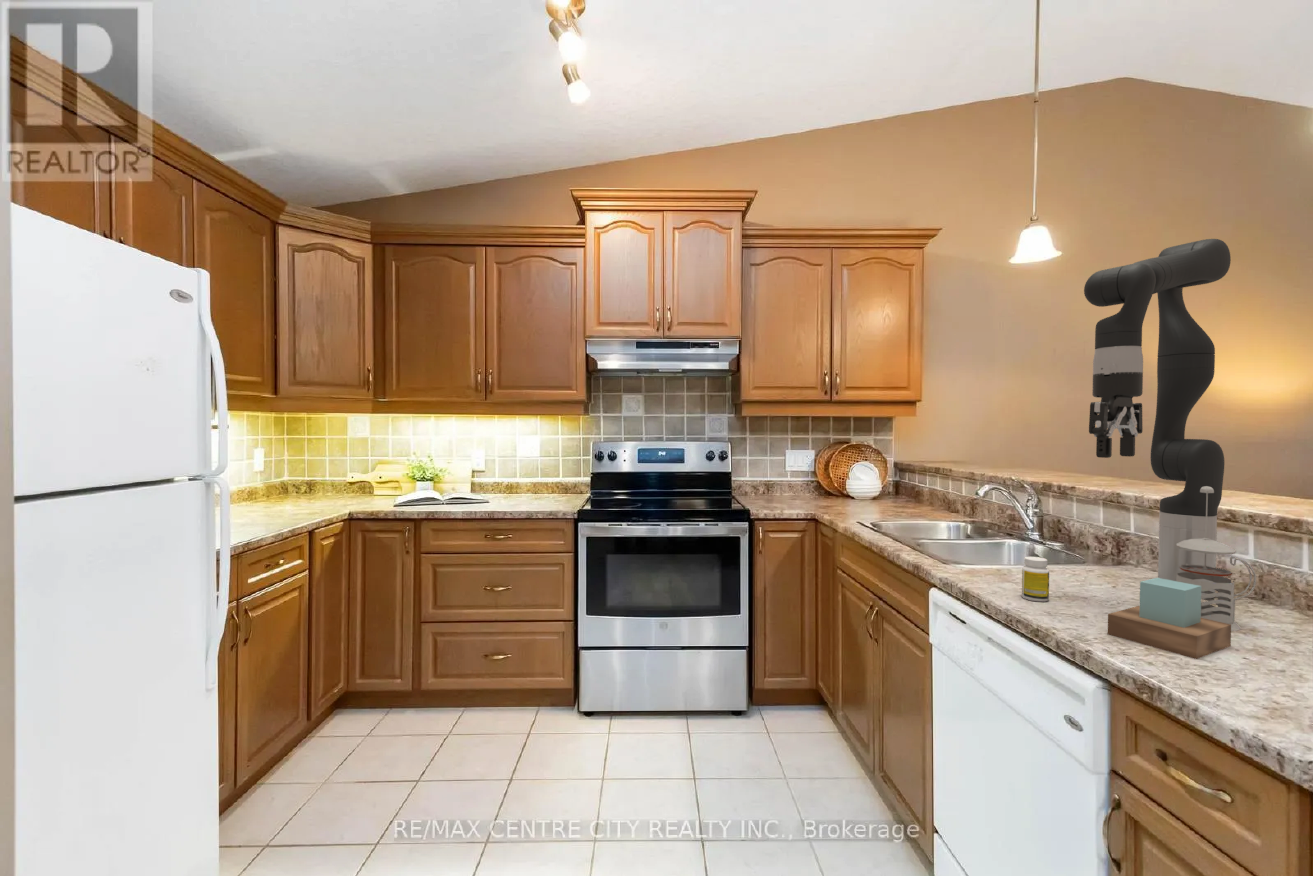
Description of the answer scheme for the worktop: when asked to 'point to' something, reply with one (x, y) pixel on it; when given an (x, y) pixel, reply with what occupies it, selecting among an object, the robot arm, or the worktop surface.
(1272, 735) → the worktop surface
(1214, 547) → the french press
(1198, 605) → the teal cube
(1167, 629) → the walnut block
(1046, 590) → the supplement bottle
